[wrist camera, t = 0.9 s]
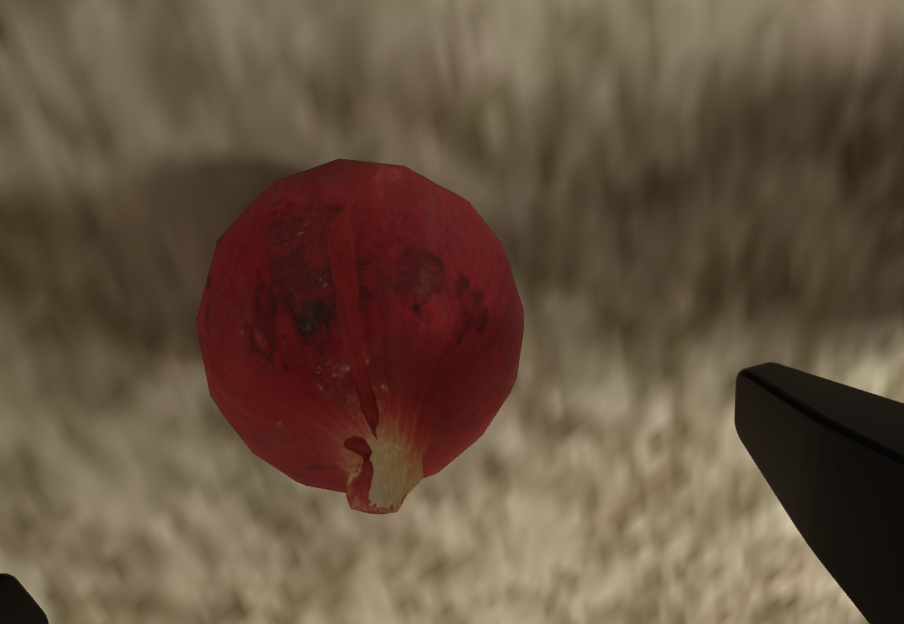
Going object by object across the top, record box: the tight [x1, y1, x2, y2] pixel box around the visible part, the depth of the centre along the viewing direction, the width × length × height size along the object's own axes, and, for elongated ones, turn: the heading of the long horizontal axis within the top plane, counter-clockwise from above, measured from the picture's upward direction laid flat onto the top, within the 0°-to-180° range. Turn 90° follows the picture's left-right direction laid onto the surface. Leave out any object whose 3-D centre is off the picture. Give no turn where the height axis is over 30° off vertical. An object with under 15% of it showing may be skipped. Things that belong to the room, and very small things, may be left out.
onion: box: [196, 159, 524, 514], centre depth 11 cm, size 6×6×8 cm
